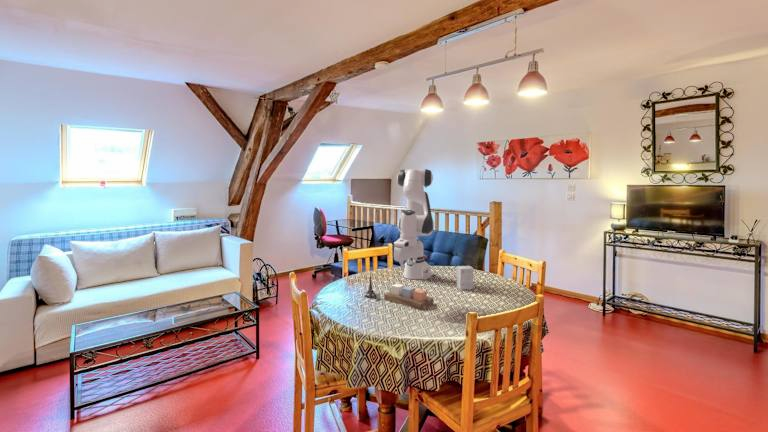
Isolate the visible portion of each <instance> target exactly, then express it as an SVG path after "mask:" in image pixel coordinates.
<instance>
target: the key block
mask: <svg viewBox="0 0 768 432" xmlns="http://www.w3.org/2000/svg"><path fill="white" fill-rule="evenodd" d="M383 296H384V298H383V299H384V300H385V301H389V302H391V303H392V302H393V303H395V304H398V305H401V306H405V307H410V308H412V309H417V310H419V311H421V310H424V309H425V308H427V307H429V306H431V305H434V297H431V296H427V300H425V301H423V302H420V301H416V300H413V298H411V299H408V298H405V297H402V295H399V296H397V295H394V294H391V291H389V292H386V293H384V295H383Z"/></svg>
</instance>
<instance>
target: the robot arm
mask: <svg viewBox="0 0 768 432" xmlns="http://www.w3.org/2000/svg"><path fill="white" fill-rule="evenodd" d="M433 179H434V176H433V173H432V171H431V170H430V169H426V168H425V169H423V168H411V169H409V168H408V169H404V168H403V169H400V170H399V171H398V173H397V176H396V180H397V181H396V182H397V184H398V186H400V187H402V189H403V194H404V196H405V197H406V210H403V211H402V212H401V215H400V218H399V219H398V221H397V224H396V225H397V230H398V231H399V232H400V234H399V238H397V240H395V241H394V242H393V246H394V249H393V259H394V261H395V262H398V263H399V265H400V269H404V270H403V272H402V276H403V278H405V279H408V280H428V279H429V278H431V277H432V276H434V275H435V272H434V271H432V268H431V265H430V264H429V263H428V262H427V261H426V260H425V259H427V258H428V256H427V255H425V254H424V244H423V242H422V241H421V240H420V239H419V238H418V237H419V236H421V237H425V236H426V237H427V236H430V235H432V234H433V232H434V227H435V221H434V218H433V216H432V209H431V202H430V198H429V194H428V192H426V191H425V188H426V189H427V187H429V186H431V185H432V184H433Z"/></svg>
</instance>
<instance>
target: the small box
mask: <svg viewBox="0 0 768 432" xmlns="http://www.w3.org/2000/svg"><path fill="white" fill-rule="evenodd" d="M456 288H457V289H459V290H460V291H461V290H462V291H464V290H466V289H467V290H473V289H474V267H473V266H471V265H457V266H456ZM467 290H466V291H467Z"/></svg>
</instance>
